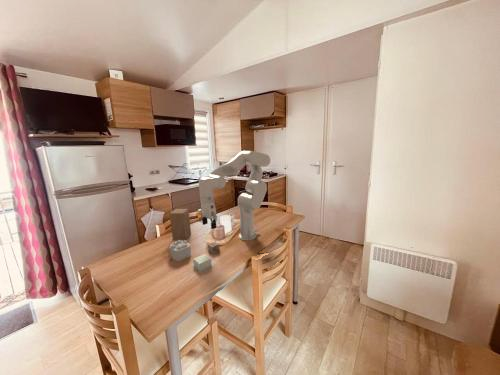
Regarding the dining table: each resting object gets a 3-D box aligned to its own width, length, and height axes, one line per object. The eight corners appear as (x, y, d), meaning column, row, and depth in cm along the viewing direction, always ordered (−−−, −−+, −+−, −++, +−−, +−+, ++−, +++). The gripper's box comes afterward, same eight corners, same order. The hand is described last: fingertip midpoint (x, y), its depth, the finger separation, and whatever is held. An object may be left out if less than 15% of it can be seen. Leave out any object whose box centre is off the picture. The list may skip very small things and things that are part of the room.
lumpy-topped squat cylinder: (177, 263, 115) (175, 249, 113) (167, 255, 124) (165, 242, 122) (193, 256, 122) (192, 242, 120) (183, 248, 131) (181, 236, 129)
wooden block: (191, 233, 153) (188, 208, 148) (186, 240, 143) (182, 213, 139) (178, 233, 154) (175, 208, 149) (172, 239, 144) (169, 213, 140)
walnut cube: (215, 248, 130) (214, 241, 129) (219, 251, 126) (219, 244, 125) (208, 251, 126) (207, 244, 125) (212, 254, 123) (212, 247, 122)
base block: (205, 260, 116) (204, 253, 115) (211, 265, 111) (211, 258, 110) (193, 265, 111) (193, 258, 110) (200, 270, 106) (199, 264, 105)
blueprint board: (210, 253, 123) (210, 252, 123) (224, 263, 113) (224, 262, 113) (186, 265, 113) (185, 263, 113) (198, 276, 103) (198, 275, 103)
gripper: (220, 200, 114) (222, 228, 117) (205, 195, 126) (207, 220, 130) (209, 203, 109) (211, 232, 113) (194, 197, 121) (196, 224, 125)
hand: (209, 226), depth 121 cm, fingers open, 9 cm apart
